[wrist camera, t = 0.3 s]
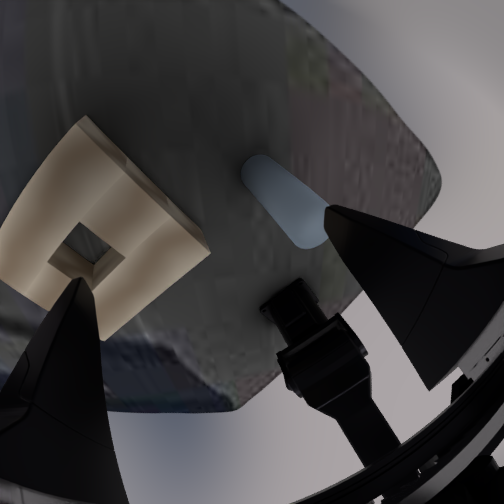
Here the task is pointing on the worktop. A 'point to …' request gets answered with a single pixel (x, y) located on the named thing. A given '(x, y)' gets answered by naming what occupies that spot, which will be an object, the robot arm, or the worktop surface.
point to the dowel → (286, 200)
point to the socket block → (97, 230)
